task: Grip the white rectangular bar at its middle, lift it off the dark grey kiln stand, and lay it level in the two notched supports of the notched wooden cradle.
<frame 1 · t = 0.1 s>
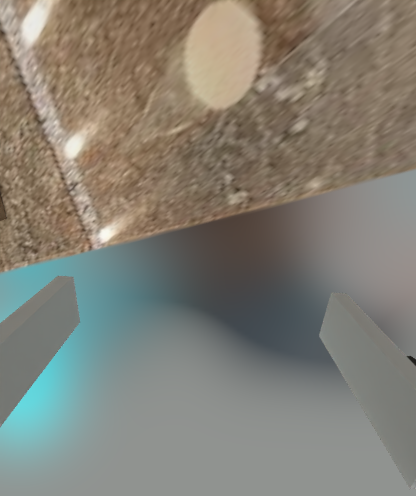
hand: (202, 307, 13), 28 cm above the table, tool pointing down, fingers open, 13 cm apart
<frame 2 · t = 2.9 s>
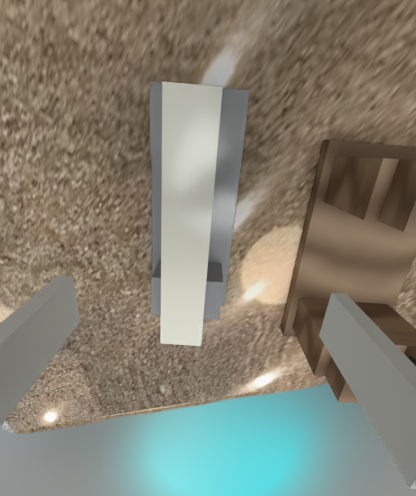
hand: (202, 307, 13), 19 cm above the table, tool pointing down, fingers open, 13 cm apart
white rectangular bar: (190, 223, 25), point 6 cm above the table, touching kiln stand
kiln stand: (194, 210, 31), on the table
notched wooden cradle: (351, 252, 32), on the table
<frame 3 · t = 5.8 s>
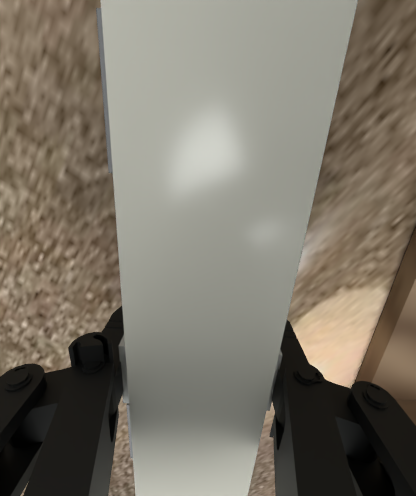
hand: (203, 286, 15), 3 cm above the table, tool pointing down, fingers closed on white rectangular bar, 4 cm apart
white rectangular bar: (201, 316, 12), point 6 cm above the table, touching gripper, kiln stand
kiln stand: (204, 264, 18), on the table
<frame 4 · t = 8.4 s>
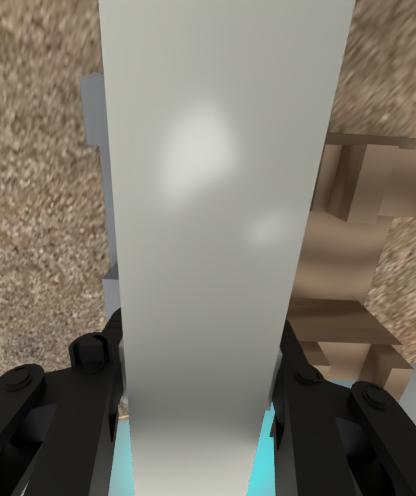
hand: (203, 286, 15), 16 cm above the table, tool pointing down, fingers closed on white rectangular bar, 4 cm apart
white rectangular bar: (201, 316, 12), point 19 cm above the table, touching gripper
kiln stand: (150, 207, 29), on the table
notched wooden cradle: (318, 248, 31), on the table
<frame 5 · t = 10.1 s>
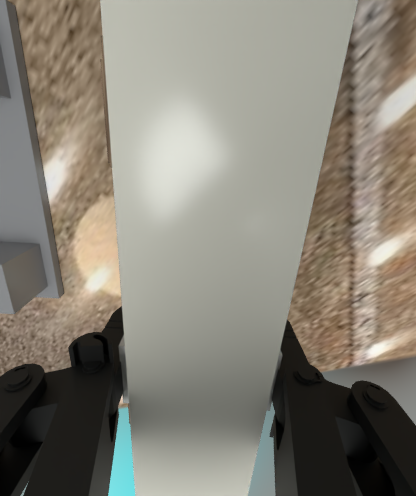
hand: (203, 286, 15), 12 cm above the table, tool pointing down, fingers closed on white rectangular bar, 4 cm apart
white rectangular bar: (201, 317, 12), point 15 cm above the table, touching gripper
notched wooden cradle: (206, 228, 26), on the table
when the fingers open (9 cm above the table, at t = 11.4 s): white rectangular bar drops 2 cm, resting on notched wooden cradle.
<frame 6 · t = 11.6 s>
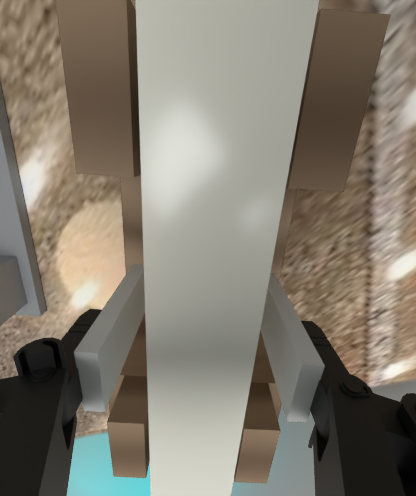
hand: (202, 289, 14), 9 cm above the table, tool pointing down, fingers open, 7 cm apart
white rectangular bar: (203, 294, 14), point 9 cm above the table, touching notched wooden cradle
notched wooden cradle: (205, 238, 23), on the table
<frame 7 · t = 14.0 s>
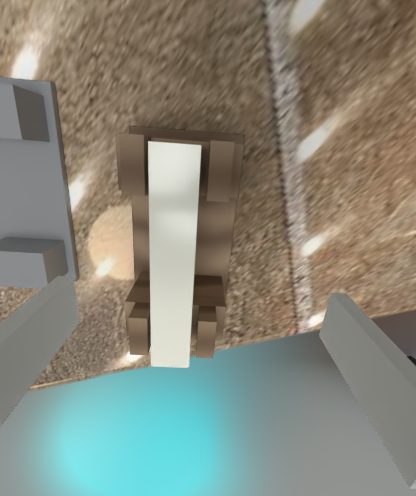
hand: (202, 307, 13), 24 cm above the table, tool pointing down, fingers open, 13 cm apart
white rectangular bar: (177, 253, 27), point 9 cm above the table, touching notched wooden cradle
kiln stand: (31, 191, 34), on the table
notched wooden cradle: (184, 229, 36), on the table
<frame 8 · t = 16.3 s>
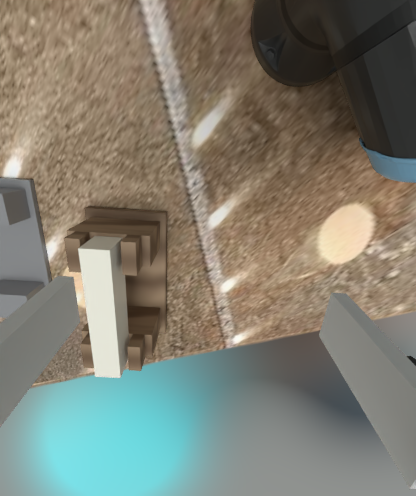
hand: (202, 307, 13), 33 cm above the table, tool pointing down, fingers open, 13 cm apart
white rectangular bar: (114, 300, 40), point 9 cm above the table, touching notched wooden cradle
kiln stand: (19, 248, 47), on the table
notched wooden cradle: (131, 273, 49), on the table
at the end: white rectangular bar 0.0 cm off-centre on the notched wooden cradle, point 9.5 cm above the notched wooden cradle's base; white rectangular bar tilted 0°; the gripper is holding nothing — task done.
